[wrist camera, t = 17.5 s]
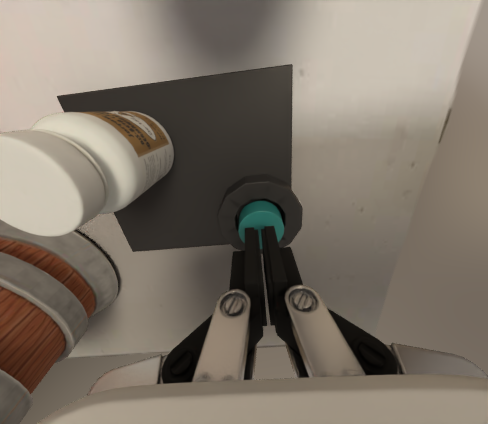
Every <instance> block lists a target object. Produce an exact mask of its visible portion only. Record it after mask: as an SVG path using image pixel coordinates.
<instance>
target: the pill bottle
mask: <svg viewBox="0 0 488 424" xmlns="http://www.w3.org/2000/svg"><path fill="white" fill-rule="evenodd" d="M173 160H174V150H173V145H172V142H171V139H170V137H169V135H168V134H167V132H166V131H165V129H164V128H163V127H162V126H161V125H160V124H159V123H158V122H157V121H156V120H155V119H153V118H151V117H150V116H148V115H145V114H143V113H139V112H134V111H112V112H62V113H55V114H51V115H48V116H45V117H43V118H41V119H40V120H38V121H37V122H36V123H35V124H34V125H33V126H32V128H31V129H29V130H21V131H12V132H4V133H0V219H1V220H2V221H4V222H6V223H7V224H9V225H11V226H13V227H15V228H17V229H20V230H22V231H25V232H28V233H31V234H35V235H40V236H61V235H65V234H68V233H70V232H73V231H74V230H76V229H77V228H79V227H80V226H82V225H83V224H85V223H86V222H88V221H89V220H91V219H93V218H94V217H96V216H97V215H98V214H106V213H112V212H116V211H118V210H121V209H123V208H124V207H126V206H127V205H129V204H130V203H131V202H133V201H134V200H135V199H136V198H138V197H139V196H140V195H141V194H142V193H144V192H145V191H146V190H147V189H149V188H150V187H151V186H152V185H154V184H155V183H156V182H157V181H159V180H160V179H161V178H162V177H164V176H165V175H166V174H167V173H168V172H169V170H170V169H171V167H172V164H173Z"/></svg>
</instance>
